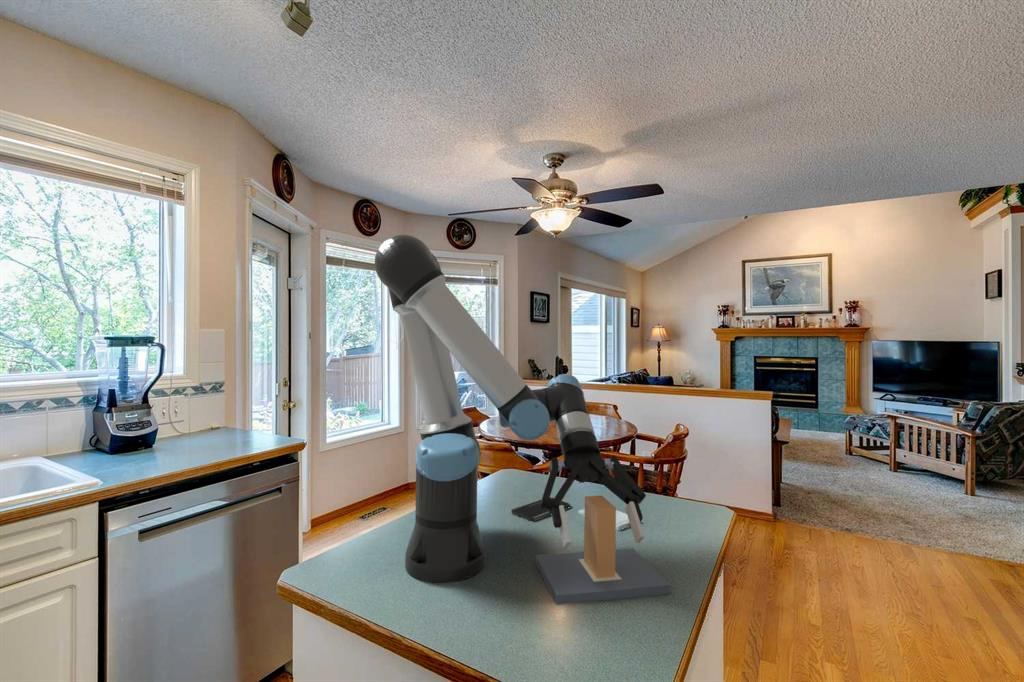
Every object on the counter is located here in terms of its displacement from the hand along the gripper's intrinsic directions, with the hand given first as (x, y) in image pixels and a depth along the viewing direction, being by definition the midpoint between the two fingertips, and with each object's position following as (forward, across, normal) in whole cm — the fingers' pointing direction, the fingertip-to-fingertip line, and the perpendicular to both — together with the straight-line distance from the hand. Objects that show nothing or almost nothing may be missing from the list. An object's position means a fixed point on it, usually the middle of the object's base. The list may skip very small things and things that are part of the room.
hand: (604, 542), depth 80 cm
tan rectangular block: (+2, 0, -6) cm, 6 cm away
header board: (+4, 0, -7) cm, 8 cm away
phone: (-20, +2, -31) cm, 37 cm away
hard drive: (-15, -13, -26) cm, 32 cm away
